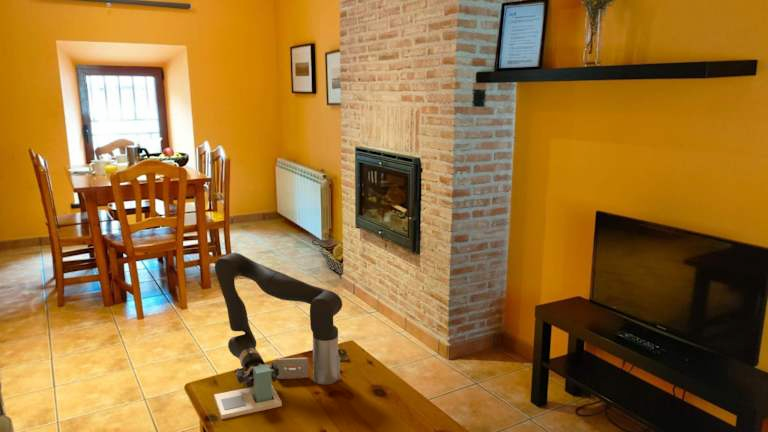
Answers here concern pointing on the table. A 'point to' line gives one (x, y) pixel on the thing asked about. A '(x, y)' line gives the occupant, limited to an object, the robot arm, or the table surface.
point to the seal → (342, 354)
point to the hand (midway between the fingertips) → (262, 381)
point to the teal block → (262, 383)
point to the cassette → (291, 372)
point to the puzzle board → (243, 402)
